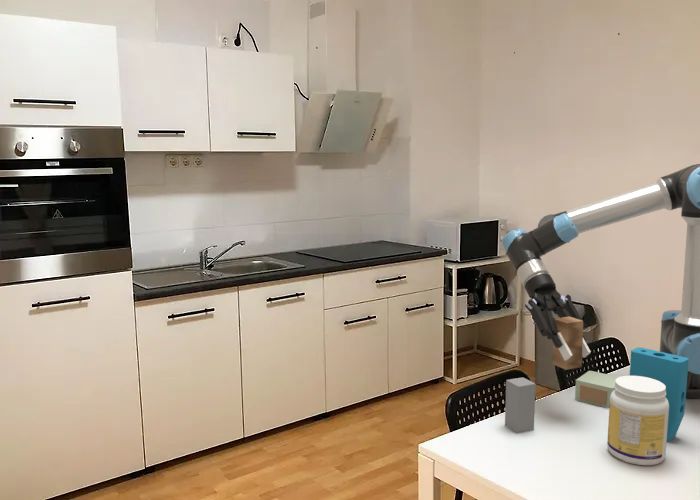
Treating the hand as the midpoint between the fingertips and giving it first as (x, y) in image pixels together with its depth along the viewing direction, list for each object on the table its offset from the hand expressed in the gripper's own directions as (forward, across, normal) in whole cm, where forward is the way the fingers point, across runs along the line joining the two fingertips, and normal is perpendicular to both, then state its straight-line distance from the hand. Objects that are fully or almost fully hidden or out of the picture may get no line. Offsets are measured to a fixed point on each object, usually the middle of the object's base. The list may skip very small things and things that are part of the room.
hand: (577, 356), depth 156 cm
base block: (+5, -18, -20) cm, 27 cm away
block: (+21, -14, -4) cm, 26 cm away
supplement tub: (+26, -1, 0) cm, 26 cm away
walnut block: (0, 0, -5) cm, 5 cm away
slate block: (+10, +14, -15) cm, 23 cm away
